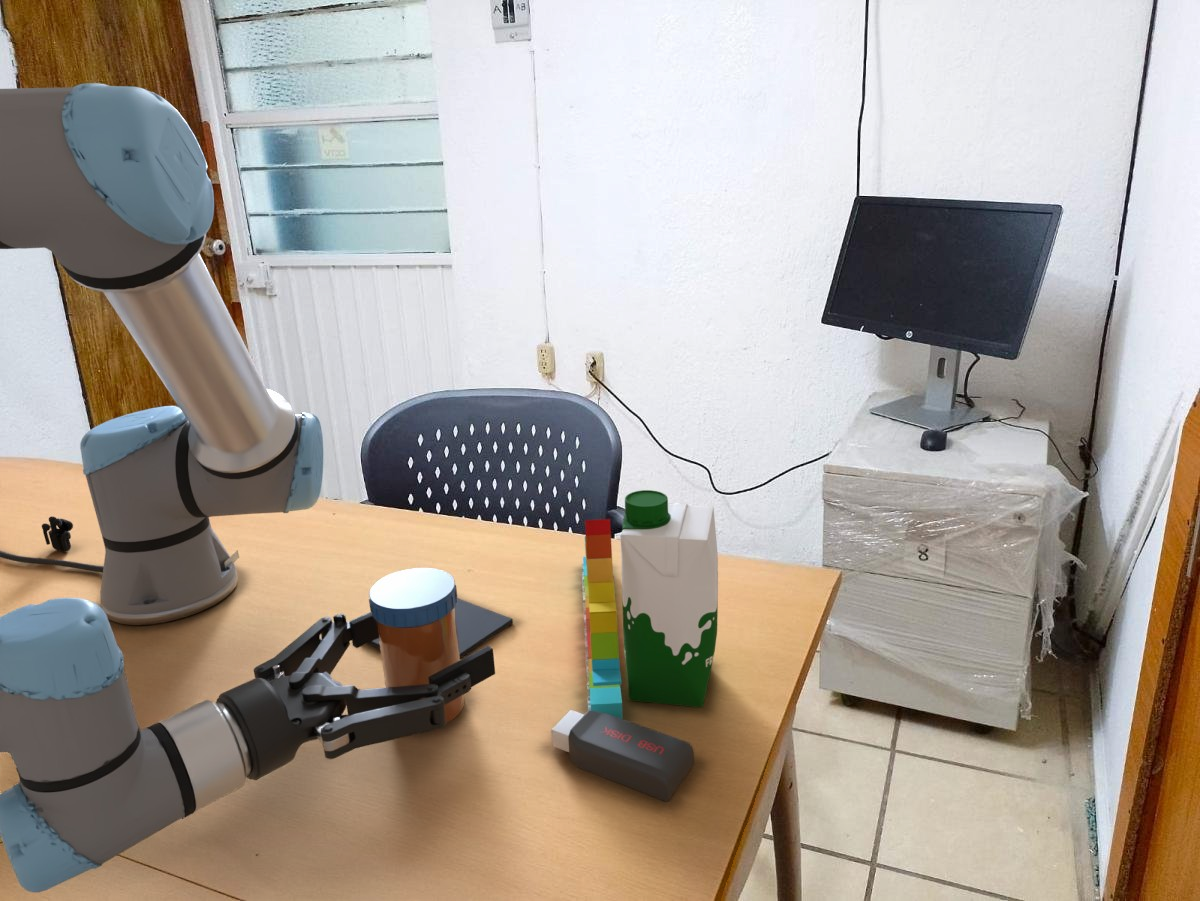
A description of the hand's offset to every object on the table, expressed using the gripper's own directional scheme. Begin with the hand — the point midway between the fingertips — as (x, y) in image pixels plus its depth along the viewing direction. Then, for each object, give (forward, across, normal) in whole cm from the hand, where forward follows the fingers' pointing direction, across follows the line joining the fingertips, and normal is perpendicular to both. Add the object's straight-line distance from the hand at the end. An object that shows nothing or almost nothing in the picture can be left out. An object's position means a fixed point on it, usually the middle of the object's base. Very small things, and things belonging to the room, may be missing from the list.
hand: (448, 632), depth 81 cm
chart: (+17, +3, -7) cm, 19 cm away
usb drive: (+4, +19, -7) cm, 21 cm away
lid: (-3, 0, +6) cm, 7 cm away
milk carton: (+15, +15, -7) cm, 23 cm away
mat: (+5, -10, -7) cm, 13 cm away
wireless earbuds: (-18, -69, -7) cm, 71 cm away
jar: (-3, 0, -7) cm, 7 cm away
